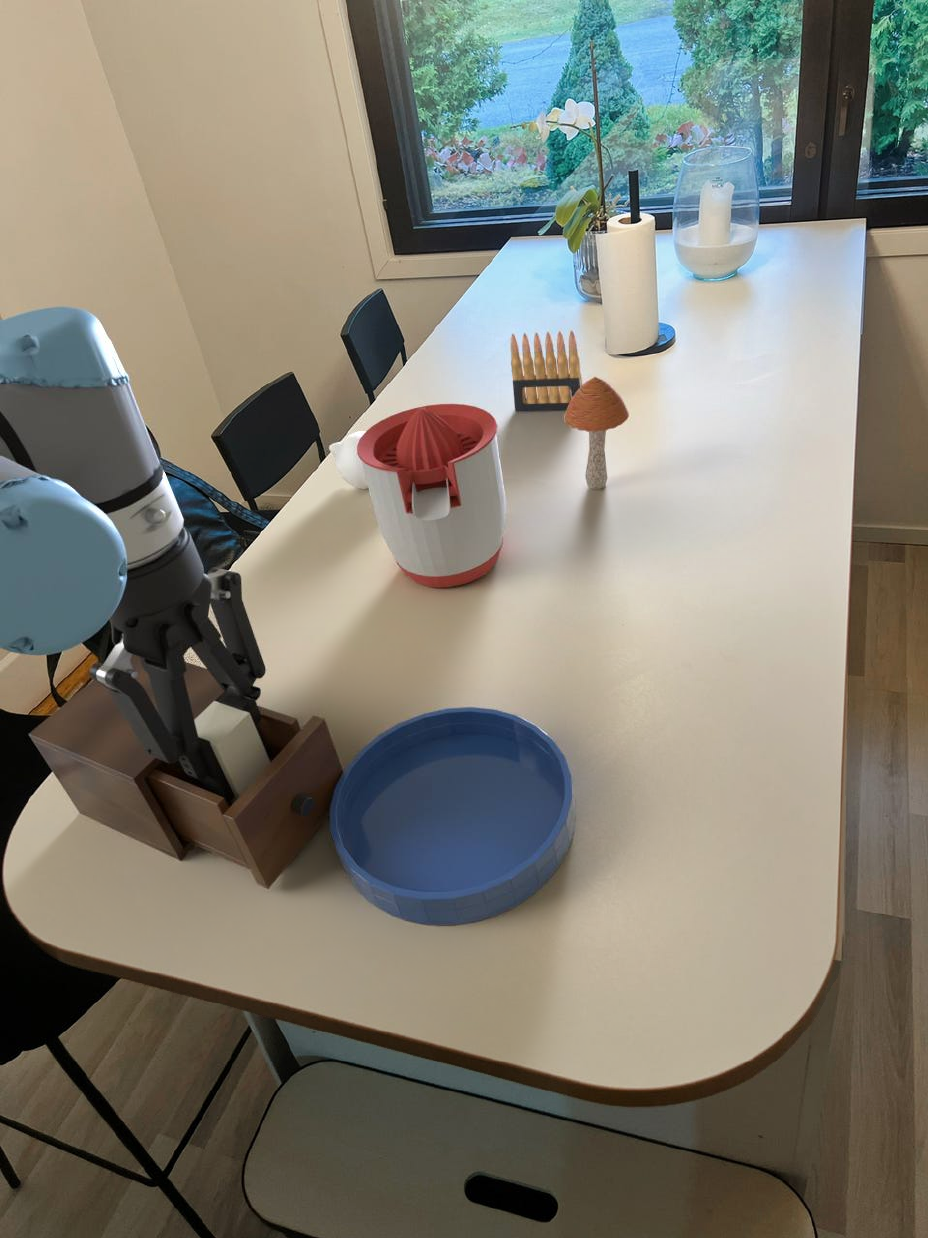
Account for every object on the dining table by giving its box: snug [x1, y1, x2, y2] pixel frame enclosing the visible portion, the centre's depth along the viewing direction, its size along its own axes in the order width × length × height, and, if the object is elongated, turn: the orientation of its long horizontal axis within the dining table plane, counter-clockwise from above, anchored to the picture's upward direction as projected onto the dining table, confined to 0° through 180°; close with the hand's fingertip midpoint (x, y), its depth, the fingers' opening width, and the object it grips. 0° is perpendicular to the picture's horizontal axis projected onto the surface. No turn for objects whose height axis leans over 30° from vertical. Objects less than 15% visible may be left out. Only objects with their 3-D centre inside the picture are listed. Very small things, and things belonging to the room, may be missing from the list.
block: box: [194, 701, 270, 803], centre depth 72 cm, size 4×4×8 cm
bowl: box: [329, 706, 576, 927], centre depth 73 cm, size 20×20×4 cm
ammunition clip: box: [510, 330, 583, 413], centre depth 131 cm, size 11×2×12 cm, turn 74°
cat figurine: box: [328, 430, 369, 490], centre depth 121 cm, size 9×11×12 cm
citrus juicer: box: [357, 403, 507, 588], centre depth 99 cm, size 16×17×20 cm
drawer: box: [144, 705, 344, 890], centre depth 74 cm, size 14×11×9 cm
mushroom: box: [563, 376, 630, 491], centre depth 110 cm, size 8×8×15 cm
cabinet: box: [28, 655, 229, 861], centre depth 79 cm, size 14×13×11 cm
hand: (238, 774), depth 74 cm, fingers closed on block, 4 cm apart
